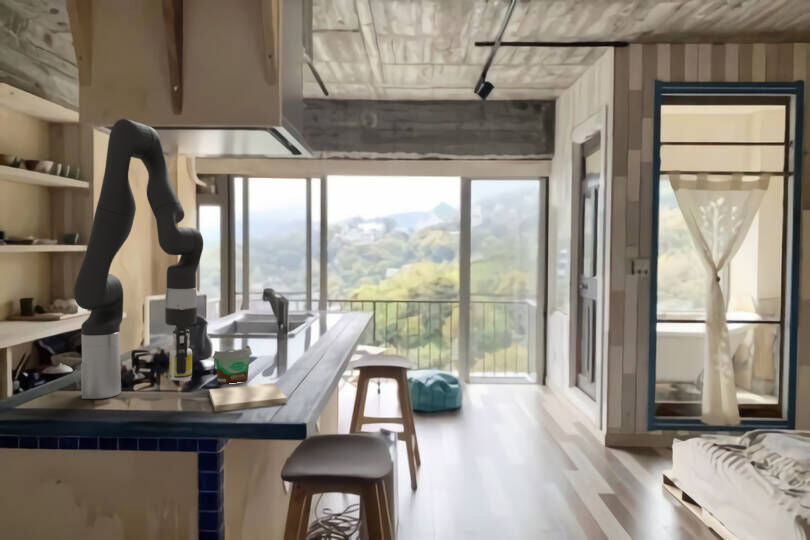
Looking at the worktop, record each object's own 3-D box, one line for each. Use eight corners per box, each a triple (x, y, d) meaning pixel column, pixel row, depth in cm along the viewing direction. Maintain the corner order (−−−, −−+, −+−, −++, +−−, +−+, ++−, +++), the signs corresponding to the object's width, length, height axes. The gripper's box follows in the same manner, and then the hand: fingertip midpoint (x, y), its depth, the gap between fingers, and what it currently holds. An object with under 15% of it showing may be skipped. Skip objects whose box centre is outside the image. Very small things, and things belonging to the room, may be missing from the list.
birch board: (215, 411, 140) (215, 405, 140) (209, 394, 155) (209, 389, 155) (286, 403, 148) (286, 397, 148) (274, 388, 162) (274, 383, 162)
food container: (226, 388, 162) (225, 354, 161) (213, 384, 166) (213, 351, 165) (260, 379, 172) (260, 347, 171) (247, 376, 175) (247, 345, 175)
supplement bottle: (196, 377, 145) (196, 340, 145) (179, 382, 141) (180, 343, 140) (181, 374, 148) (181, 337, 147) (164, 379, 143) (164, 341, 142)
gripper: (165, 302, 148) (164, 365, 149) (165, 309, 135) (165, 378, 136) (195, 301, 151) (194, 363, 152) (198, 308, 138) (197, 376, 139)
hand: (180, 370), depth 144 cm, fingers closed on supplement bottle, 5 cm apart
